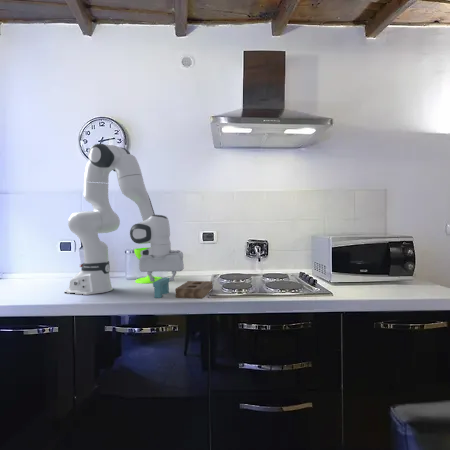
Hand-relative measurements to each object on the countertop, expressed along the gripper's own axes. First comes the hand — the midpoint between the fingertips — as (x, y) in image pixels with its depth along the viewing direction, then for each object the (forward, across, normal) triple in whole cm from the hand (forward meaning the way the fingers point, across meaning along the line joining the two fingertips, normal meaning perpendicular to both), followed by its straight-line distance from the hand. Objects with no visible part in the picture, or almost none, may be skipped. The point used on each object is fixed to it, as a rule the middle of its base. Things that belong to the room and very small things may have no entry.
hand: (162, 281), depth 160 cm
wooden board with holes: (+7, -14, -5) cm, 16 cm away
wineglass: (+6, +22, -34) cm, 41 cm away
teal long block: (+6, 0, 0) cm, 6 cm away
